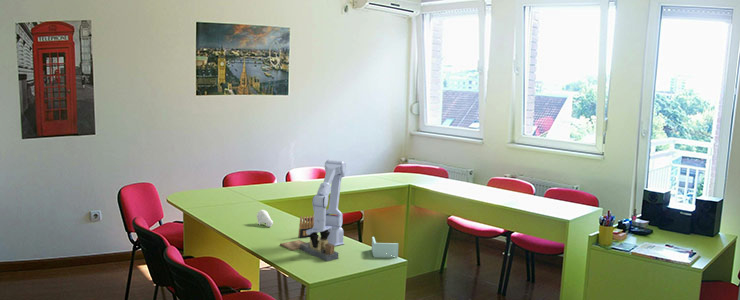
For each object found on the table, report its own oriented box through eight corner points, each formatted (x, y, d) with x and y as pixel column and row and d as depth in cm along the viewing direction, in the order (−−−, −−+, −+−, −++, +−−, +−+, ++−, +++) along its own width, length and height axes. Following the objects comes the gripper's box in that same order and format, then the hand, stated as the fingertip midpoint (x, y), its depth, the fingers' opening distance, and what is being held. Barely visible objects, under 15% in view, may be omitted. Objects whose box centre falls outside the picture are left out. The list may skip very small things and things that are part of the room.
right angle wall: (397, 258, 277) (398, 243, 277) (373, 258, 276) (374, 243, 276) (394, 251, 289) (395, 237, 288) (371, 250, 288) (372, 236, 287)
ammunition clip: (299, 238, 303) (300, 216, 302) (298, 237, 305) (298, 215, 304) (317, 236, 309) (318, 214, 308) (316, 235, 311) (316, 214, 309)
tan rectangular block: (316, 245, 282) (317, 235, 281) (328, 249, 275) (328, 239, 274) (309, 246, 279) (309, 237, 278) (320, 251, 272) (321, 241, 271)
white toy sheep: (265, 208, 332) (276, 214, 324) (264, 222, 334) (275, 228, 326) (256, 209, 328) (267, 215, 320) (255, 223, 330) (266, 229, 321)
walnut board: (299, 241, 298) (299, 240, 298) (311, 246, 290) (311, 244, 290) (279, 245, 290) (279, 243, 290) (292, 250, 282) (292, 248, 282)
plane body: (311, 247, 288) (311, 234, 287) (338, 258, 272) (338, 244, 271) (299, 250, 283) (300, 236, 282) (326, 261, 267) (327, 247, 266)
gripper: (325, 215, 283) (325, 242, 285) (302, 219, 273) (302, 247, 275) (335, 218, 278) (334, 245, 280) (311, 222, 268) (311, 250, 270)
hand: (318, 246), depth 277 cm, fingers closed on tan rectangular block, 5 cm apart
